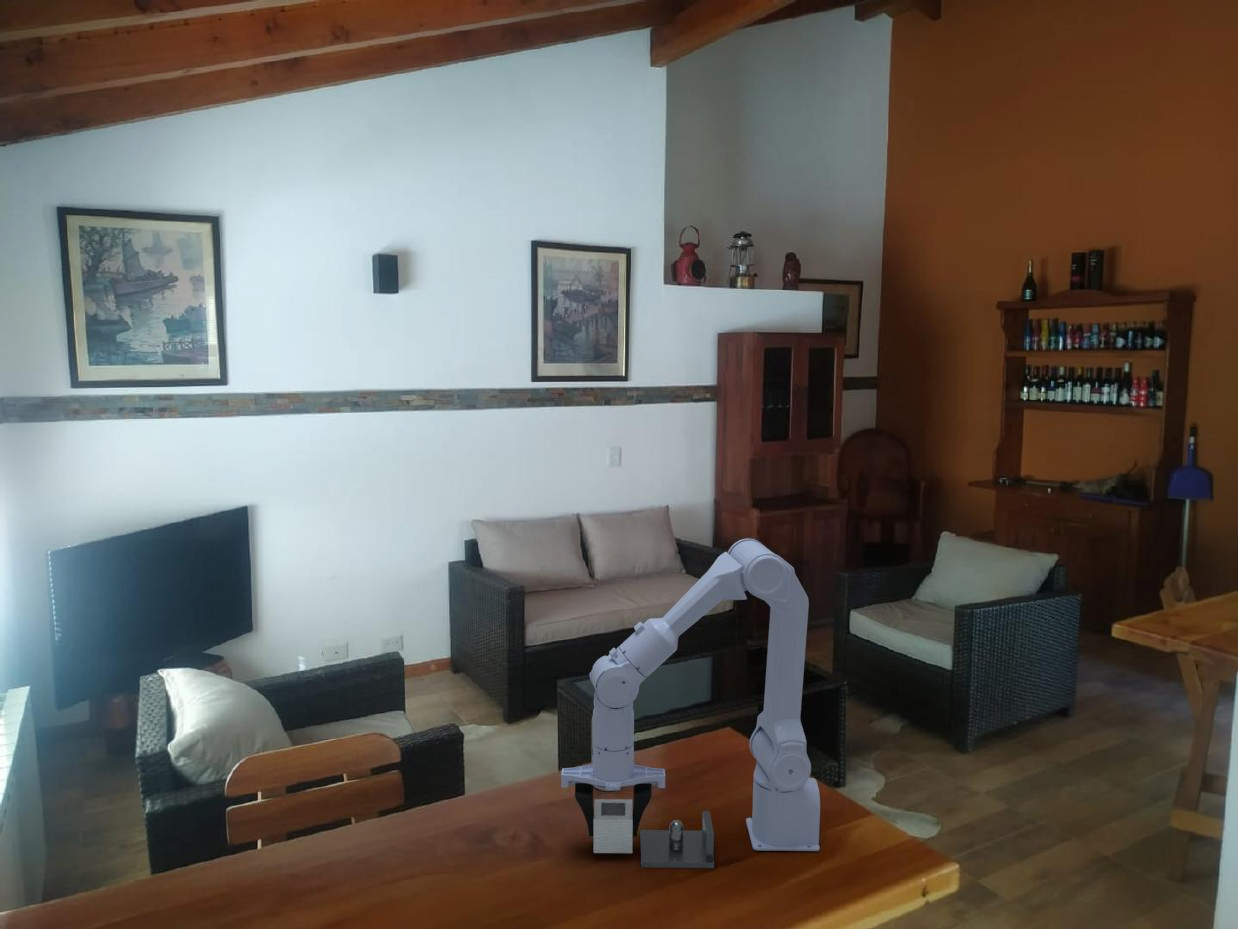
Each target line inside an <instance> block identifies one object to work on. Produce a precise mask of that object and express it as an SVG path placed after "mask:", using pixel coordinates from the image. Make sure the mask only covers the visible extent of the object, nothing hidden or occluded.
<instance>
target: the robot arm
mask: <svg viewBox="0 0 1238 929" xmlns="http://www.w3.org/2000/svg"><path fill="white" fill-rule="evenodd" d="M746 591H748V592H749V594H751V595H752V596H755V597H756V598H758V599H760V600H763V601H765V603H766V604H767V605H768V606H769V607H770V608H769V610H770V611H769V628H768V640H767V654H766V668H765V670H766V672H765V684H764V698H763V710H762V711H761V713H759V714H758V715H757V718H756V719H757V720H756V726H755V729H754V730H753V732H752V734H751V736H750V738H749V751H750V753H751V755H752V756H753V758H754V759H755V760H756V764H755V769H754V771H753V785H752V786H753V787H752V817H747V818H746V819H745V823H746V827H747V830H748V834H749V839H750V842H751V846H752V850H754V851H766V852H768V851H769V852H771V851H775V852H777V851H779V852H781V851H782V852H783V851H785V852H787V851H789V852H794V851H795V852H819V851H820V845H819V843H820V841H819V840H820V820H821V796H820V795H821V794H820V789H819V785H818V782H817V779H816V778H814V777H811V772H812V764H811V761H810V758H809V756H808V753H807V744H808V743H807V739H806V735H805V732H804V728H803V725H802V722H801V713H802V712H801V711H802V700H803V699H802V698H803V689H804V688H803V687H804V686H803V685H804V672H805V662H806V661H805V659H806V648H807V647H806V646H807V634H808V633H807V631H808V622H809V621H808V620H809V608H810V606H809V605H810V603H809V597H808V595H807V593H806V590H805V589H804V587H803V586H802V584H801V581H800V580H799V578H798V577H797V575H796V571H795V567H793V566H792V564H789V562H787V561H786V560H785V559H784V558H782V557H781V556H780V555H778V554H776V553H774V552H773V551H772V550H770V549H769V548H768V547H766V546H765V545H764V544H763V543H762V542H760V541H759V540H756V539H755V538H743V539H739V540H738V541H736V542H734V543H733V544H732V545H731V546H730V547H729V549H728V550H727V551H725V552H723V553H721V554H720V555H719V556H718V557H717V558H716V559H715V561H714V562H713V564H712V565H711V566H710V568H709V569H708V570H707V571H706V572H705V573H704V574H703V575H702V576H701V577H700V578H699V580H697V582H695V584H694V585H692V587H691V588H690V589H689V590H687V592H686V593H685V594H683V596H682V597H681V598H680V599H678V601H677V602H676V603H675V604H674V605H673V606H672V608H670V609H669V611H667V612H666V613H665V614H664V615H663V617H659V618H658V617H655V618H648V619H647V620H646V621H644V622H643V623H642V622H641V621H639V622H637V623H636V624H635V625H634V626H633V628H634V630H635V631H634V632H633V633H632V634H631V635H629V637H628V638H626V639H625V640H624V641H623V642H622V643H621V644H620V645H619V646H617V648H615V647H613V648H612V649H611V650H609V651H608V652H609V654H608V655H606V654H605V655H603V656H601V657H600V658H598V659H597V660H596V661H595V662H594V664H593V666H592V669H591V671H590V672H589V679H590V682H591V684H592V686H593V688H594V690H595V691H593V692H594V694H593V695H594V696H593V697H594V698H593V711H592V716H593V765H592V764H587V765H583V766H576V767H565V768H563V767H562V769H561V775H560V777H561V778H560V781H561V783H560V784H561V786H560V787H561V788H562V789H563V788H564V789H565V788H570V786H574V797H575V800H576V802H577V804H578V806H579V807H580V810H581V811H582V813H583V816H584V819H585V823H586V825H587V829H588V836H589V837H594V786H593V785H598V786H603V787H605V789H606V790H614V791H620V790H621V789H622V787H623V788H624V787H629V786H631V787H632V786H633V788H632V789H633V790H632V791H633V795H632V797H633V799H632V814H633V837H632V838H635V837H638V830H639V826H640V823H641V820H642V816H643V814H644V812H645V810H646V808H647V806H648V805H649V803H650V801H651V799H652V794H653V793H652V786H653V787H655V786H656V787H657V788H658V789H666V769H665V768H655V767H654V768H653V767H648V766H644V765H643V766H642V765H639V764H635V763H634V761H635V760H634V758H635V752H634V751H635V746H634V745H635V743H634V742H635V711H634V701H635V700H636V698H638V695H639V692H640V691H639V690H640V685H641V683H643V682H644V681H645V680H646V679H647V678H648V677H649V676H650V675H651V674H652V673H653V672H655V670H657V669H658V668H659V667H661V665H662V664H663V663H665V662H666V661H667V660H668V659H669V658H670V657H671V656H672V655H673V654H674V653H675V652H676V651H677V650H678V645H679V644H678V641H679V637H681V635H682V634H683V633H685V631H687V630H688V629H689V628H690V627H692V626H694V624H696V622H698V621H699V620H700V619H701V618H702V617H704V616H706V614H707V613H709V612H710V611H711V610H712V609H714V608H715V607H716V606H717V605H718V604H719V603H721V602H722V601H743V600H748V598H747V595H746V593H745V592H746Z"/></svg>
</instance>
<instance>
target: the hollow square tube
mask: <svg viewBox="0 0 1238 929" xmlns="http://www.w3.org/2000/svg"><path fill="white" fill-rule="evenodd" d="M593 807H594V836H593V853H594V854H633V838H634V837H633V799H632V798H630V799H629V798H627V799H625V798H624V799H622V798H621V799H619V798H612V799H611V798H609V799H607V798H600V799H599V798H596V799H594V802H593Z"/></svg>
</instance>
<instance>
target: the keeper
mask: <svg viewBox="0 0 1238 929" xmlns="http://www.w3.org/2000/svg"><path fill="white" fill-rule="evenodd" d="M714 832H715V831H714V827H713V823H712V817H711V812H710V811H706V810H705V811H702V830H686V829H685V830H684V824H683V822H682V821H681V820H679V819H674V820H672V821H671V822H670V823H669V829H667V830H666V829H665V830H663V829H661V830H659V829H656V830H655V829H640V830H639V835H640V836H639V840H640V841H639V842H640V845H639V846H640V865H641V866H640V867H641V868H643V869H644V868H647V869H648V868H653V869H654V868H655V869H656V868H657V869H658V868H659V869H660V868H661V869H663V868H665V869H667V868H668V869H672V868H673V869H674V868H675V869H677V868H678V869H714V868H715V860H714V850H715V848H714V847H715V843H714V842H715V833H714Z"/></svg>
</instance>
